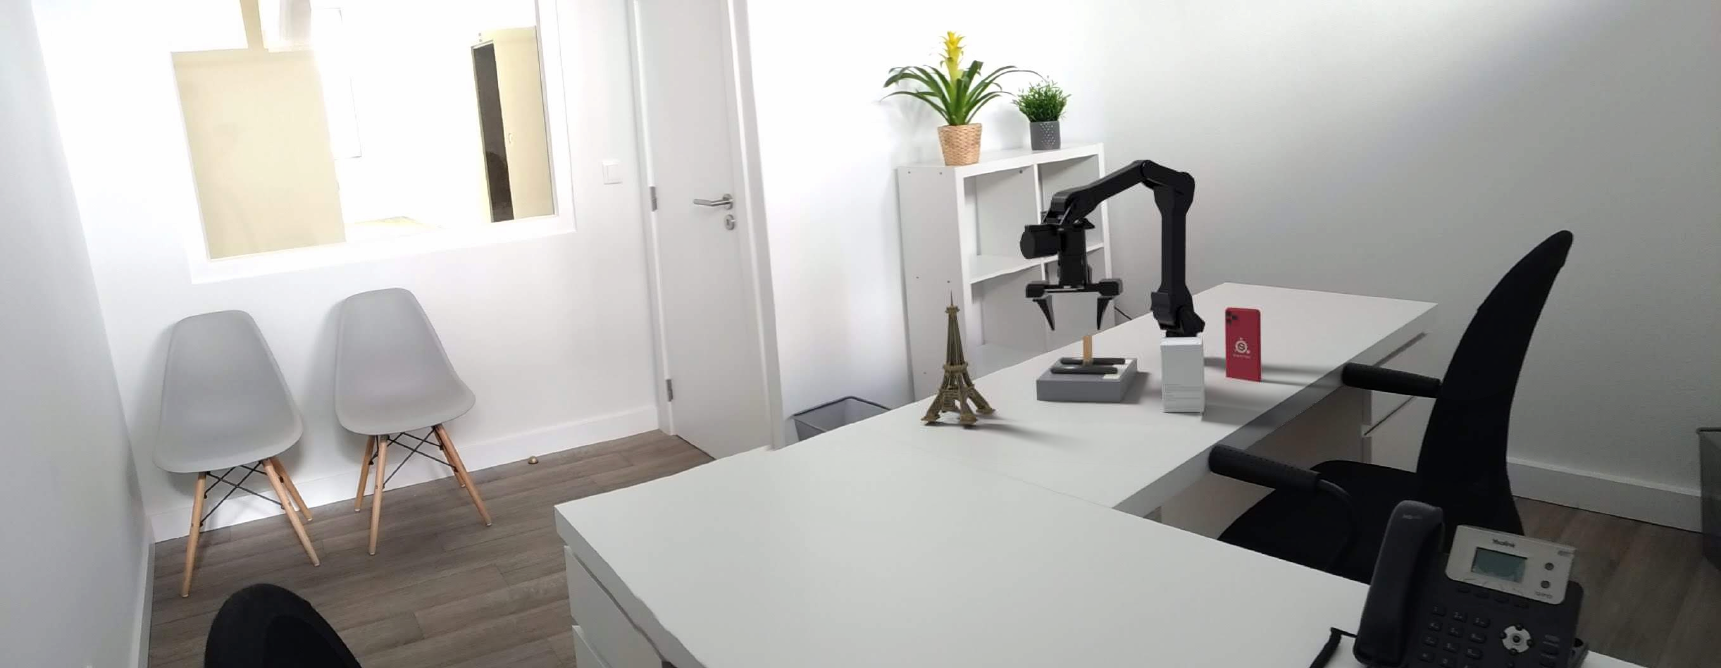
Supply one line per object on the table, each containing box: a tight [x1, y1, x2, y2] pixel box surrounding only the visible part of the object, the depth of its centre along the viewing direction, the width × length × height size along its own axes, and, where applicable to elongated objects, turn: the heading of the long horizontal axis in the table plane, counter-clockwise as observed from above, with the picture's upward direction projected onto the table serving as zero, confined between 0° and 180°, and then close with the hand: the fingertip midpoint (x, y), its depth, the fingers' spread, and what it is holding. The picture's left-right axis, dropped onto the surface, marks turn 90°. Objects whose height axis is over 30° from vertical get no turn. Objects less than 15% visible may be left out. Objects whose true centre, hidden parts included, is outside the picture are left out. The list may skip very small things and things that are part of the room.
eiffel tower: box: [920, 291, 996, 425], centre depth 202 cm, size 11×11×25 cm
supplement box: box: [1159, 336, 1206, 413], centre depth 197 cm, size 7×7×13 cm
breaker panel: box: [1035, 356, 1138, 403], centre depth 218 cm, size 16×22×5 cm
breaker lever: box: [1082, 333, 1094, 367], centre depth 217 cm, size 2×4×6 cm, turn 157°
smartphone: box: [1224, 306, 1262, 383], centre depth 212 cm, size 7×1×15 cm, turn 42°
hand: (1076, 330), depth 219 cm, fingers open, 9 cm apart
